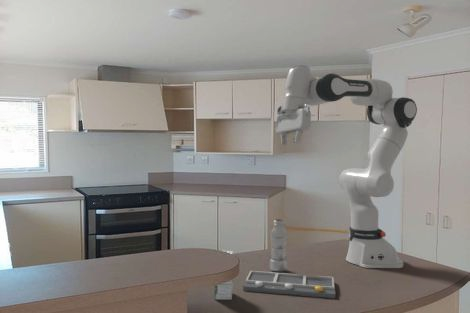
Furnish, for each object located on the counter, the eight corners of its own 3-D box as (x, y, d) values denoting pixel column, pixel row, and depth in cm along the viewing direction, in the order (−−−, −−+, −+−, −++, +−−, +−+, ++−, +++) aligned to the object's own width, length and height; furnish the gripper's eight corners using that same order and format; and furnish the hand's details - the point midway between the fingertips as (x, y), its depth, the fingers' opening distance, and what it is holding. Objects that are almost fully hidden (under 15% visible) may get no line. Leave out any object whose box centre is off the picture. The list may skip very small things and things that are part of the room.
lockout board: (333, 282, 141) (333, 275, 141) (335, 298, 127) (335, 290, 127) (250, 276, 147) (250, 269, 147) (243, 290, 133) (243, 282, 133)
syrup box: (215, 292, 132) (215, 250, 131) (233, 293, 131) (233, 250, 131) (214, 299, 126) (214, 255, 125) (232, 300, 126) (232, 255, 125)
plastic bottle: (268, 268, 156) (268, 218, 155) (284, 267, 156) (285, 218, 155) (271, 274, 149) (271, 222, 148) (288, 273, 150) (289, 221, 149)
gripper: (317, 105, 139) (312, 143, 137) (288, 113, 158) (284, 147, 156) (302, 101, 136) (297, 140, 135) (274, 110, 155) (270, 144, 154)
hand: (289, 144), depth 146 cm, fingers open, 8 cm apart
